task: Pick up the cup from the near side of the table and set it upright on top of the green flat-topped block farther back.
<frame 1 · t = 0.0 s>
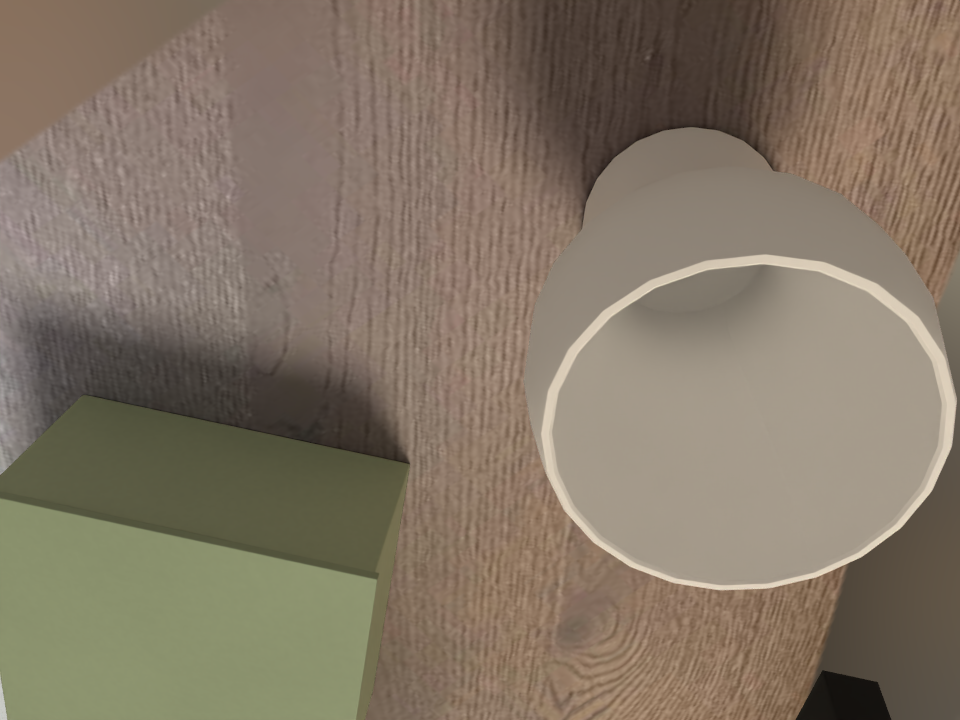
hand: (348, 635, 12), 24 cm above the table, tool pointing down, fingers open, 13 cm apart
cup: (681, 224, 33), on the table
green flat-topped block: (240, 553, 44), on the table
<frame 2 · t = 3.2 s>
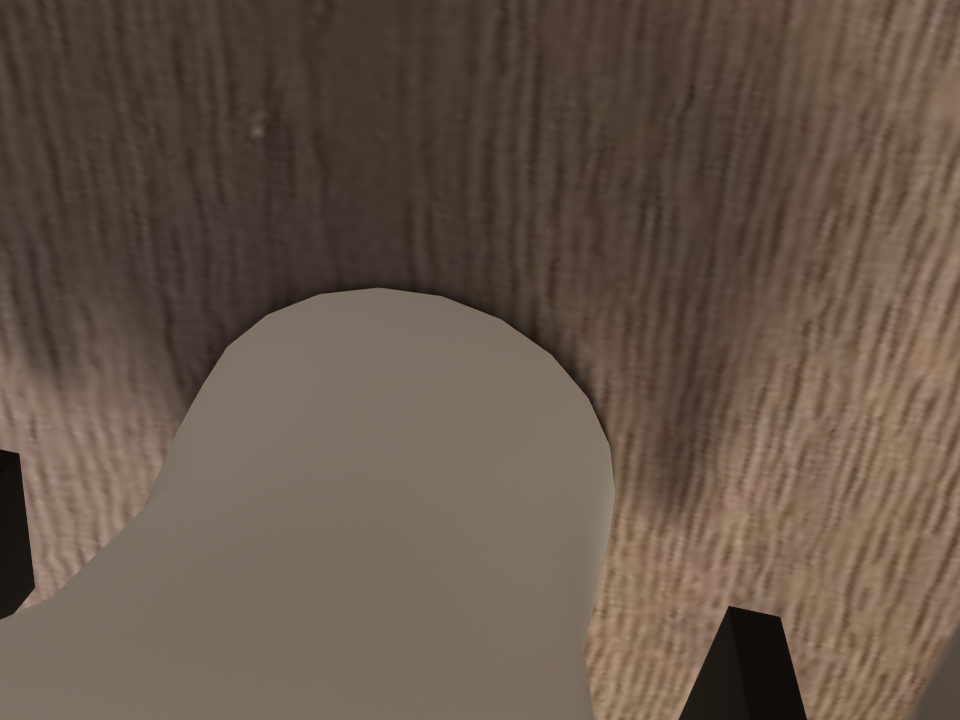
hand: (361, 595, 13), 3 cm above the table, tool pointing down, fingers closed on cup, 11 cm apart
cup: (402, 473, 16), on the table, touching gripper
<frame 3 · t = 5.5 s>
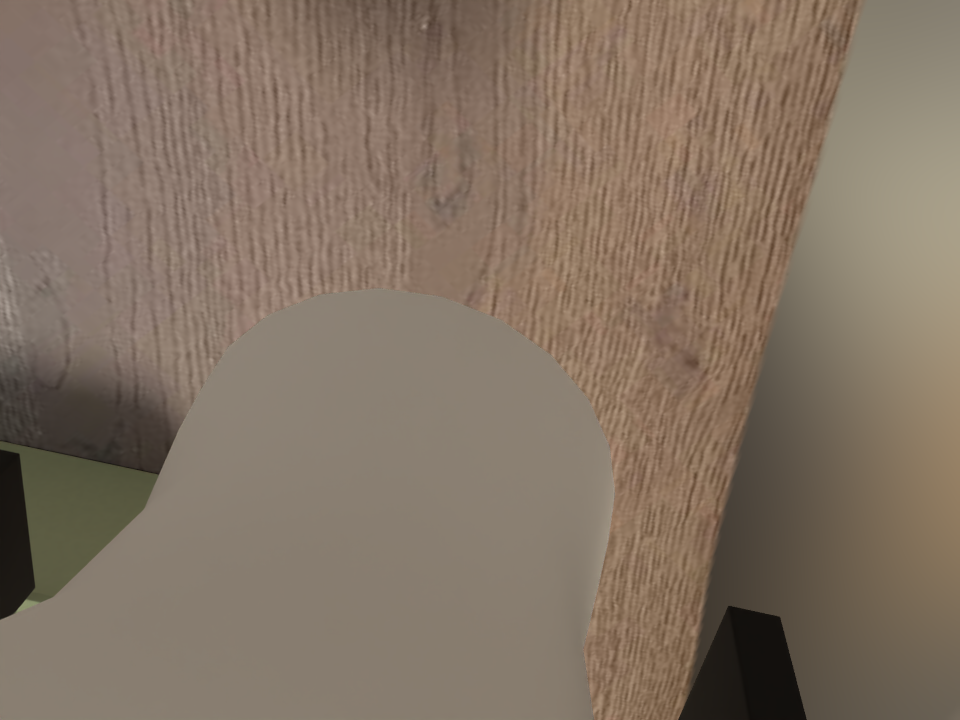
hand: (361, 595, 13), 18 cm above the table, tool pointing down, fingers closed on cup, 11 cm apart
cup: (402, 473, 16), point 15 cm above the table, touching gripper
green flat-topped block: (50, 585, 40), on the table
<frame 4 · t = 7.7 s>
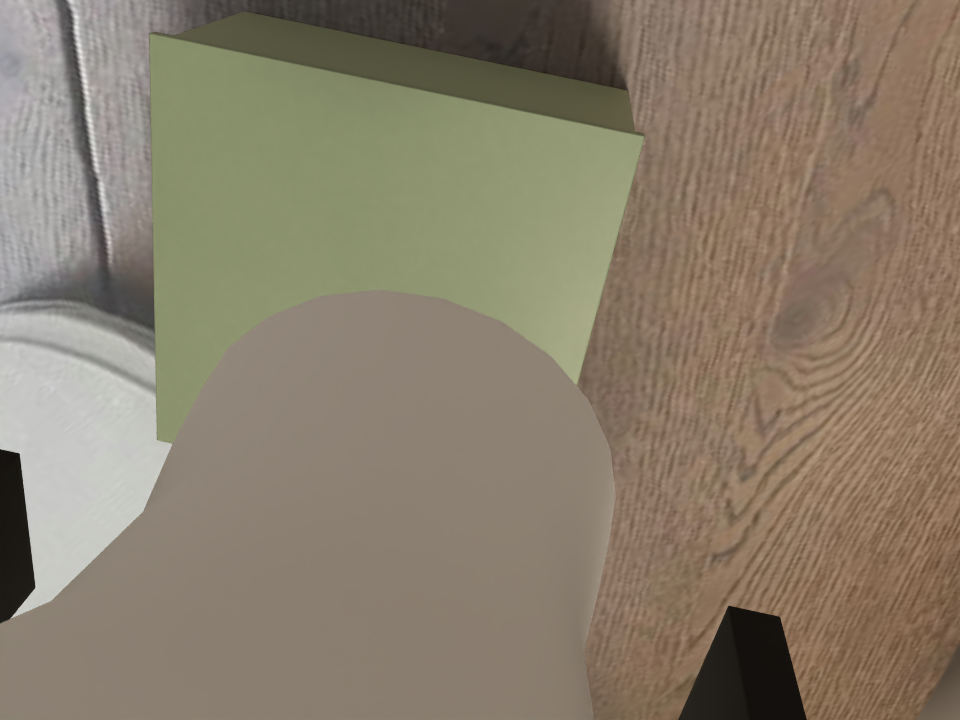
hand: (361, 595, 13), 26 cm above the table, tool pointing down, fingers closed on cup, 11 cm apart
cup: (402, 475, 16), point 23 cm above the table, touching gripper
green flat-topped block: (409, 233, 38), on the table
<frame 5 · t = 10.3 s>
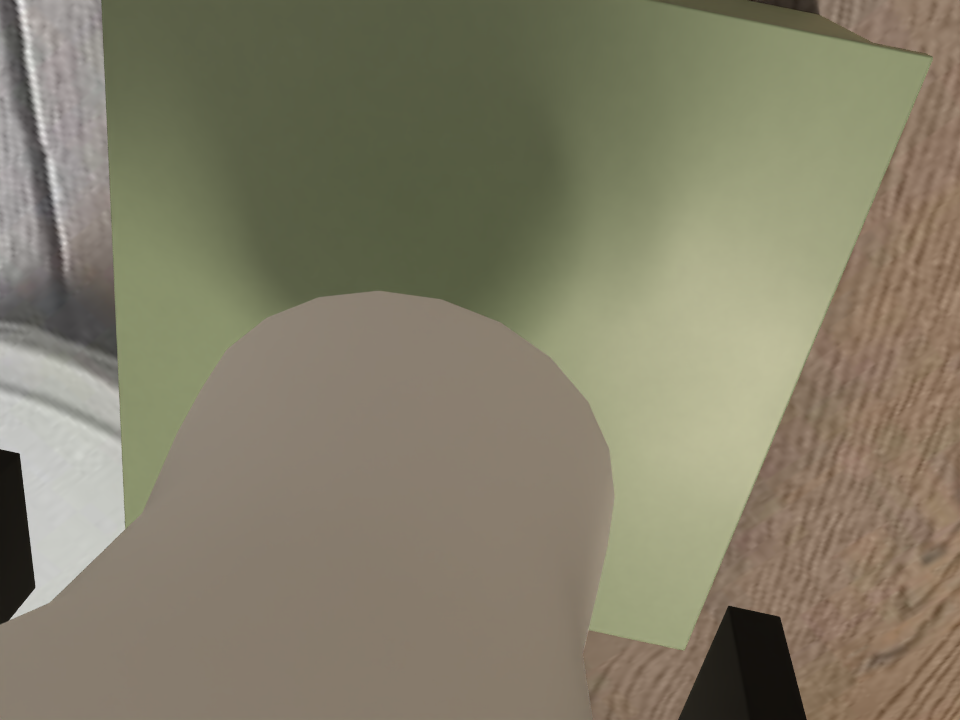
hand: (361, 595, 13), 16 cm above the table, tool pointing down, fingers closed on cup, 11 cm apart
cup: (401, 476, 16), point 13 cm above the table, touching gripper
green flat-topped block: (484, 228, 27), on the table
when the fingers open (11 cm above the table, at t = 12.2 s): cup stays where it is, resting on green flat-topped block.
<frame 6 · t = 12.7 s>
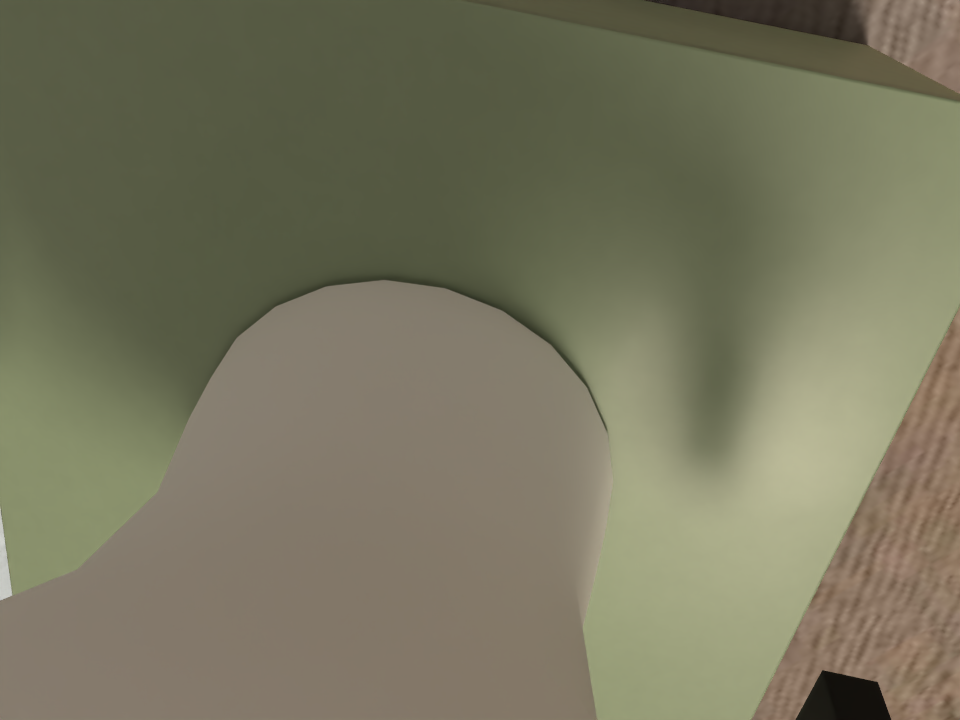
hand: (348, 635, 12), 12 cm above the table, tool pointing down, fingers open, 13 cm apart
cup: (406, 461, 16), point 8 cm above the table, touching green flat-topped block
green flat-topped block: (461, 293, 23), on the table
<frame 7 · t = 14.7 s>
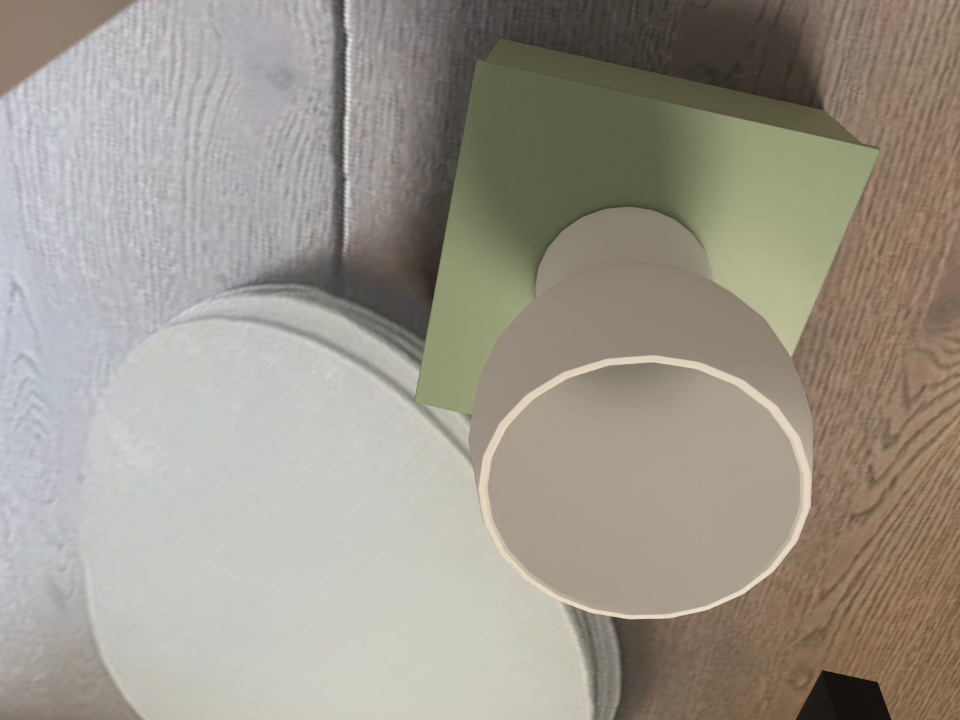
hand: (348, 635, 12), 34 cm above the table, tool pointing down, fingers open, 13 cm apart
cup: (622, 288, 38), point 8 cm above the table, touching green flat-topped block
green flat-topped block: (617, 228, 45), on the table
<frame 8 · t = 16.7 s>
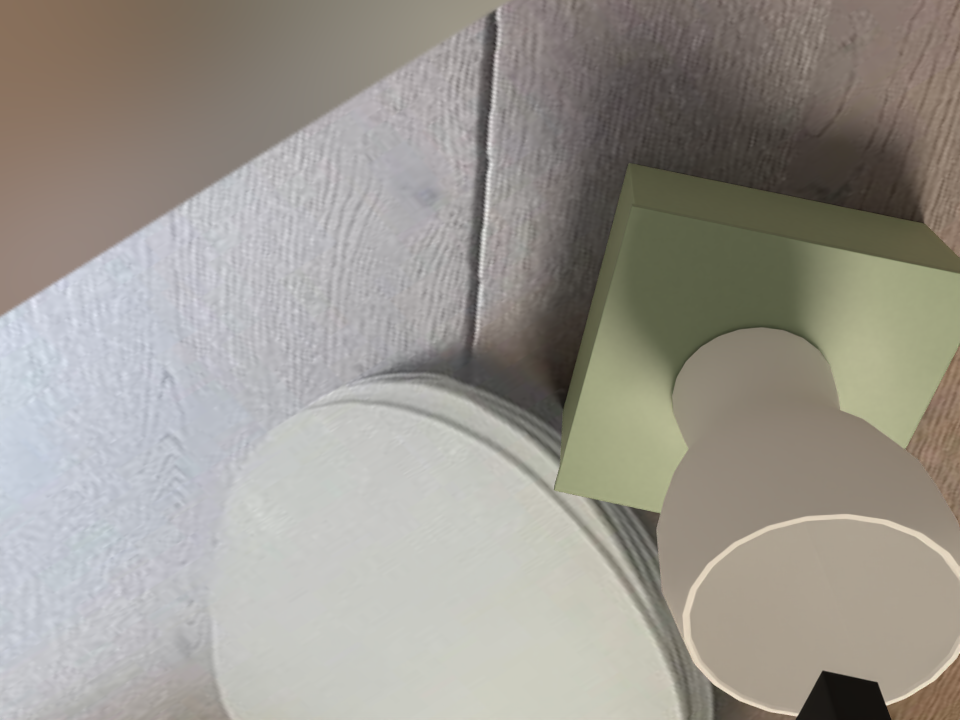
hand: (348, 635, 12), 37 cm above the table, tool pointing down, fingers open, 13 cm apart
cup: (751, 394, 42), point 8 cm above the table, touching green flat-topped block
green flat-topped block: (729, 324, 49), on the table
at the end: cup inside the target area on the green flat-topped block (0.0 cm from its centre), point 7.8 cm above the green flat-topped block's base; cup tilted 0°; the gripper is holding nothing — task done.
